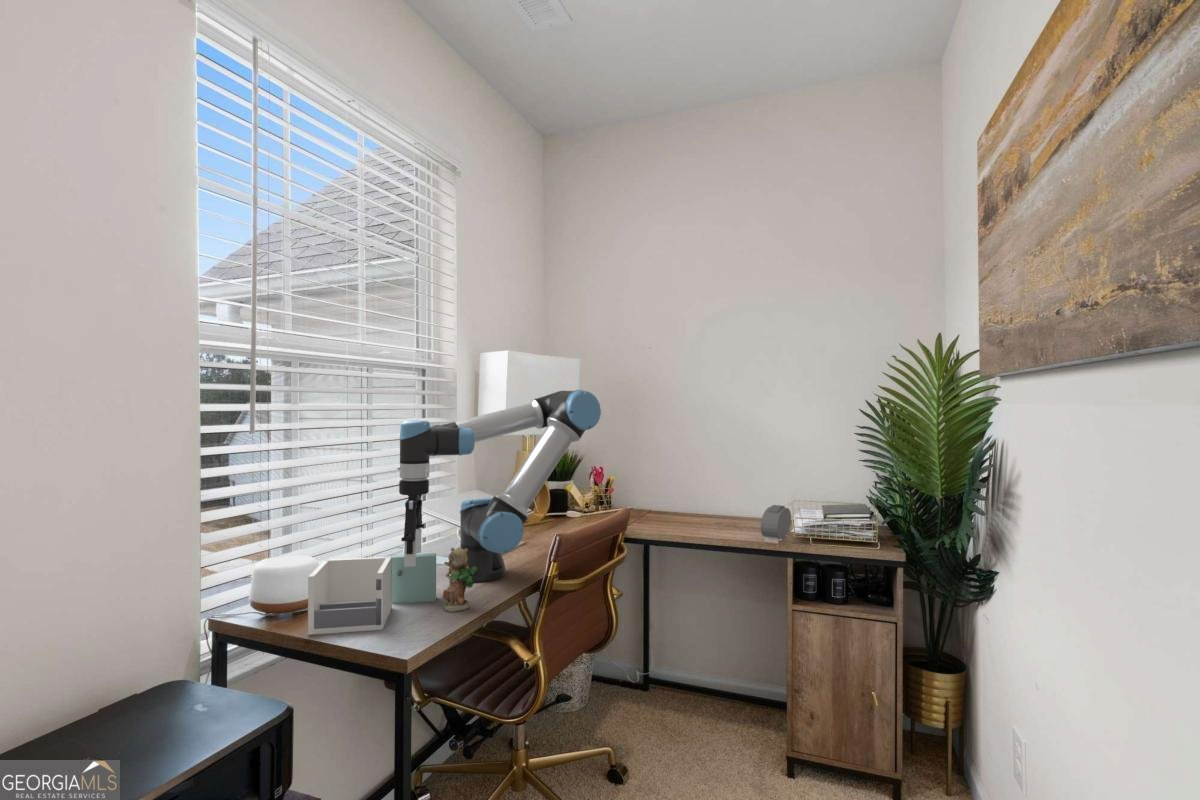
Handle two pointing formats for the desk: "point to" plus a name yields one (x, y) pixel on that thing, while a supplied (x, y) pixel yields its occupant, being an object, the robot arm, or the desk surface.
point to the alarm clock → (775, 523)
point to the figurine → (458, 580)
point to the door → (414, 579)
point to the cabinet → (349, 595)
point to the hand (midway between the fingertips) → (412, 559)
